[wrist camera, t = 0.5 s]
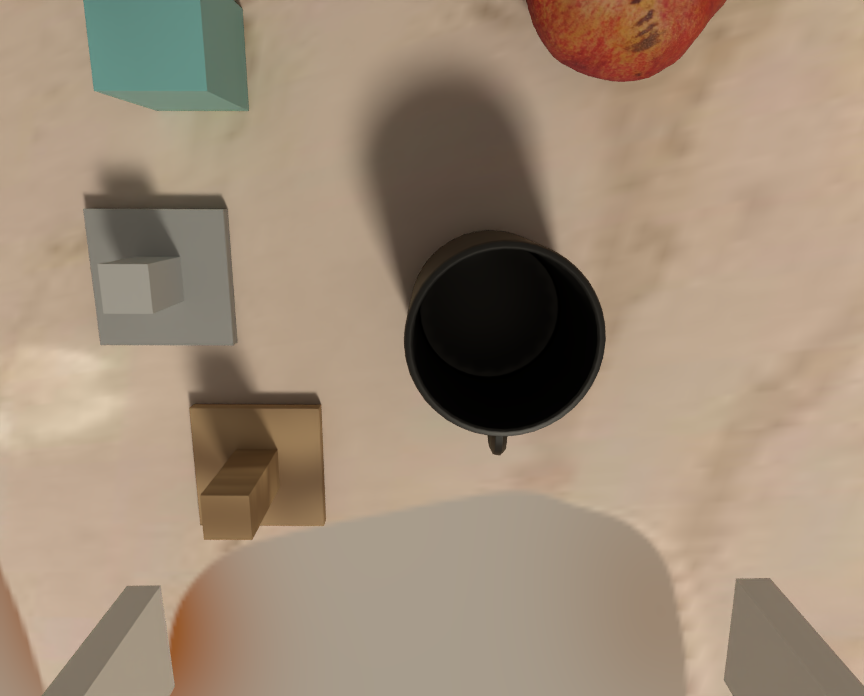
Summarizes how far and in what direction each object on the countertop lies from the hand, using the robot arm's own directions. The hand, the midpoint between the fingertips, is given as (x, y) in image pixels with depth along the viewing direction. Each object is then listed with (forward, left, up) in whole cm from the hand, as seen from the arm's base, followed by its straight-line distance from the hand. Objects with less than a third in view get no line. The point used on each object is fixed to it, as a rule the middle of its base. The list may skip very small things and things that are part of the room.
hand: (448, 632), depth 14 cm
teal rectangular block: (-17, -13, -25) cm, 33 cm away
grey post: (-5, -16, -25) cm, 30 cm away
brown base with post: (+7, -11, -25) cm, 28 cm away
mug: (-2, +3, -25) cm, 25 cm away
